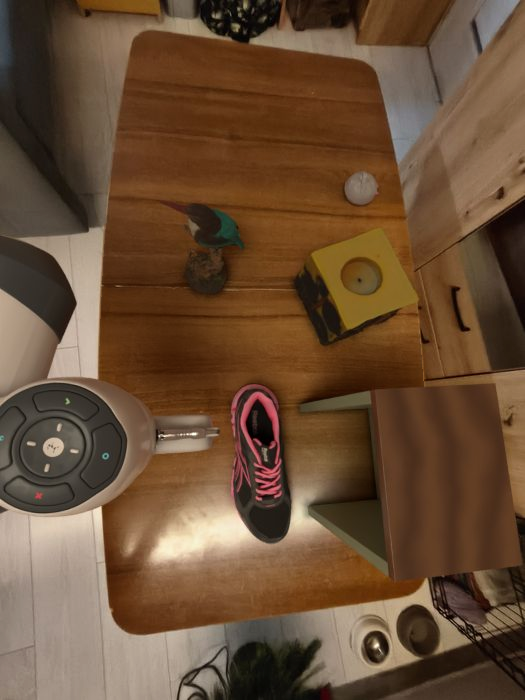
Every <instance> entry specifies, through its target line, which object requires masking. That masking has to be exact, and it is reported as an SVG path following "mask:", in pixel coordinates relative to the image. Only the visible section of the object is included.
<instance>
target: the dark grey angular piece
mask: <svg viewBox="0 0 525 700" xmlns="http://www.w3.org/2000/svg"><path fill="white" fill-rule="evenodd" d="M299 407H300V413H309V412H310V413H313V412H327V411H344V410H345V411H346V410H362V409H363V410H364V409H365V410H366V409H367V411H368V420H369V430H370V431H369V432H370V442H371V450H372V459H373V470H374V479H375V480H374V482H375V491H376V499H368V500H367V499H366V500H357V501H356V500H355V501H345V502H336V503H335V502H334V503H325V504H315V505H308V506H307V514H308V516H309V517H311V518H312V519H313V520H314V521H316V522H317V523H318V524H320V526H322V527H324V528H325V529H326V530H328V531H329V532H330V533H331V534H333V535H334V536H335V537H336V538H338V539H339V540H341V541H342V542H343V543H344V544H345V545H347V546H348V547H349V548H351V549H352V550H353V551H355V552H356V553H357V554H358V555H360V556H361V557H362V558H363V559H365V561H367V562H369V563H370V564H371V565H373V566H374V567H375V568H376V569H377V570H378V571H380V572H381V573H383V574H384V575H385V576H387V577H388V578H389V575H388V565H387V555H386V545H385V535H384V526H383V516H382V506H381V496H380V486H379V476H378V466H377V456H376V446H375V437H374V427H373V417H372V407H371V397H370V390H366V391H360V392H355V393H349V394H345V395H339V396H335V397H330V398H324V399H320V400H319V399H318V400H314V401H309V402H304V403H301V404H300V405H299Z"/></svg>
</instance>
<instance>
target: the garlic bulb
mask: <svg viewBox="0 0 525 700" xmlns="http://www.w3.org/2000/svg"><path fill="white" fill-rule="evenodd" d="M343 187H344V188H343V189H344V195H345V198H346V199H347V201H348V202H349V203H350V204H353V205H355V206H364V205H367V204H370V203H371V202H372V201H373V200H374V198H375V197H376V196H377V195H379V191H378V188H379V185H378V182H377V181H376V178H375V177H374V176H373V175H372V174H371V173H370V172H367V171H365V170H361V171H358V172H355V173H353V174H352V175H350V176H349V177H348V178H347V179H346V181H345V183H344V186H343Z"/></svg>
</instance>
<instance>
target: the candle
mask: <svg viewBox="0 0 525 700" xmlns="http://www.w3.org/2000/svg"><path fill="white" fill-rule="evenodd" d="M293 284H294V288H295V290H296V293H297V294H298V295H297V296H298V298H299V300H300V301H301V302H302V305H303V308H304V310H305V311H306V314H307V317H308V318H309V319H308V320H309V321H310V322H311V324H312V326H313V328H314V331H315V334H316V335H317V337H318V340H319V344H320V345H322V346H323V347H327V346H330V345H332V344H334V343H337V342H340V341H343V340H346V339H349V338H350V337H352V336H356V335H358V334H360V333H363V332H364V330H365V329H367V328H369V327H371V326H379V325H380V324H383V323H386V322H387V321H388V320H389V319H392V318H393V317H395V316H397V313H398V312H400V310H401V309H403V308H405V307H407V306H411V305H413V304H415V303H418V302H419V301H420V298H419V295H418V293H417V292H416V290H415V288H414V286H413V285H412V282H411V280H410V279H409V277H408V275H407V273H406V271H405V269H404V267H403V266H402V264H401V262H400V260H399V258H398V256H397V254H396V252H395V250H394V248H393V246H392V244H391V242H390V239H389V238H388V236H387V233H386V231H385V230H384V228H383V226H380V227H376V228H374V229H371V230H368V231H365V232H363V233H360V234H358V235H356V236H353V237H350V238H349V239H346V240H343V241H340V242H337V243H336V242H335V243H333V244H330V245H328V246H325V247H322V248H319V249H317V250H314V251H313V252H311V253H310V254H309V256H308V257H307V259H306V260H305V261H304V264H303V267H302V269H301V271H300V272H299V273H297V274H296V276H295V278H294V279H293Z"/></svg>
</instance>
